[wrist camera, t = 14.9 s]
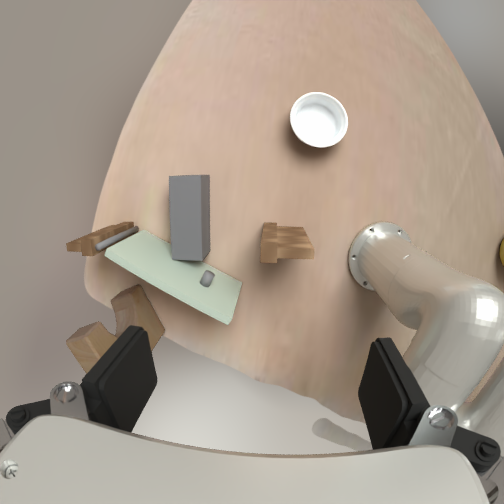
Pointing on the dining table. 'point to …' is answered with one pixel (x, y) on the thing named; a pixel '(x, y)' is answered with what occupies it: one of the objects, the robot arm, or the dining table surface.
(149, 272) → the door
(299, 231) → the frame
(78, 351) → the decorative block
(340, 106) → the ramekin
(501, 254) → the fruit
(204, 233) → the grey block
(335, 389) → the dining table surface
